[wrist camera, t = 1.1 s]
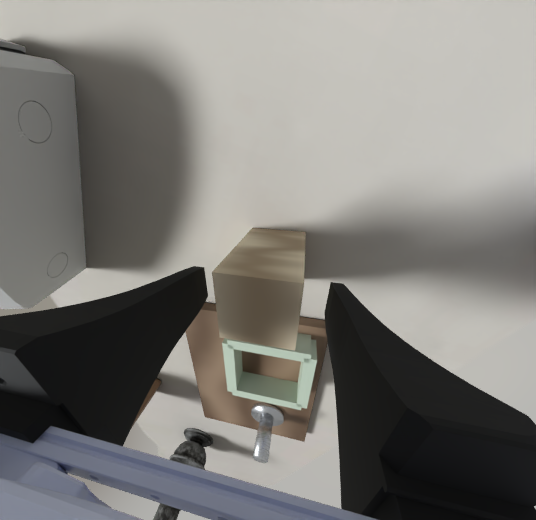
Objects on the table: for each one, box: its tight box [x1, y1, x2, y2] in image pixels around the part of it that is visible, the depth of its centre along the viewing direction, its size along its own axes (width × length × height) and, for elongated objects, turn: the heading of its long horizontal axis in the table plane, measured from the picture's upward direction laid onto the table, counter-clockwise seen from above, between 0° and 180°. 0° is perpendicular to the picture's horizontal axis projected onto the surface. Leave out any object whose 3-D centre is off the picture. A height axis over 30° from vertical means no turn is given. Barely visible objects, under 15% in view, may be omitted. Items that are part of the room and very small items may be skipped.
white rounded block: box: [0, 39, 86, 309], centre depth 13 cm, size 17×5×10 cm, turn 156°
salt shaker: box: [153, 428, 213, 520], centre depth 28 cm, size 6×6×12 cm
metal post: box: [251, 402, 284, 463], centre depth 22 cm, size 4×4×4 cm
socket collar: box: [222, 333, 317, 410], centre depth 18 cm, size 8×8×2 cm
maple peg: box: [212, 228, 306, 351], centre depth 12 cm, size 4×4×7 cm
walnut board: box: [186, 303, 328, 441], centre depth 22 cm, size 14×20×1 cm
